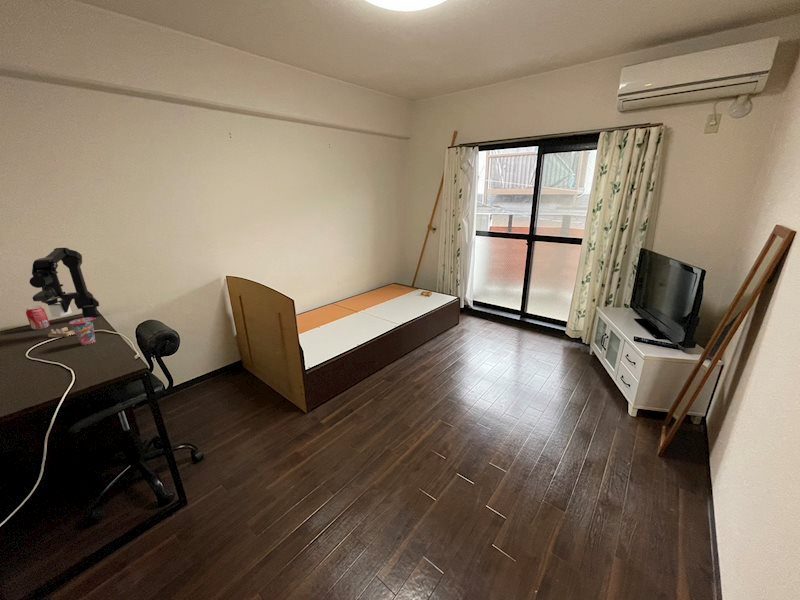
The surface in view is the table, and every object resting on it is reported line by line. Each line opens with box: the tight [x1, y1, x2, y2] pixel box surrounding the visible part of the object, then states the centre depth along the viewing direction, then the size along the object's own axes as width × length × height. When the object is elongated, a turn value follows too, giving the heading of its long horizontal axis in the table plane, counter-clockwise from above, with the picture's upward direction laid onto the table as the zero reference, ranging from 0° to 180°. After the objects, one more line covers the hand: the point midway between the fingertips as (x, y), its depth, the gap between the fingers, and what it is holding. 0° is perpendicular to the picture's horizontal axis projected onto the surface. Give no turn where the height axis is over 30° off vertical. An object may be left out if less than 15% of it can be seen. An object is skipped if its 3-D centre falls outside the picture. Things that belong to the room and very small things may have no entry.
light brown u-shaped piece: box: [47, 326, 75, 338], centre depth 170 cm, size 9×9×4 cm
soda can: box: [25, 305, 50, 330], centre depth 178 cm, size 7×7×12 cm
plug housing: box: [48, 302, 73, 318], centre depth 168 cm, size 6×4×6 cm
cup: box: [68, 317, 97, 346], centre depth 157 cm, size 9×8×12 cm
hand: (61, 312), depth 169 cm, fingers closed on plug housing, 4 cm apart
